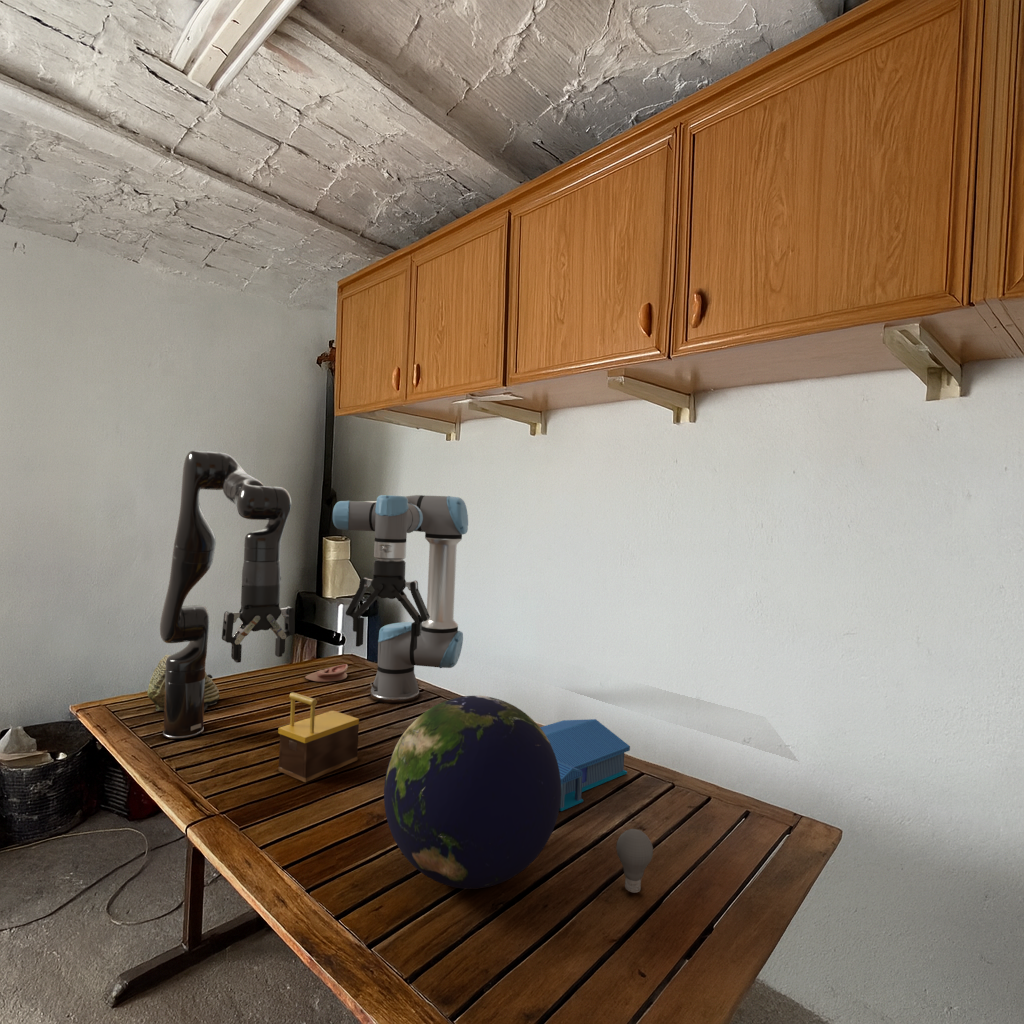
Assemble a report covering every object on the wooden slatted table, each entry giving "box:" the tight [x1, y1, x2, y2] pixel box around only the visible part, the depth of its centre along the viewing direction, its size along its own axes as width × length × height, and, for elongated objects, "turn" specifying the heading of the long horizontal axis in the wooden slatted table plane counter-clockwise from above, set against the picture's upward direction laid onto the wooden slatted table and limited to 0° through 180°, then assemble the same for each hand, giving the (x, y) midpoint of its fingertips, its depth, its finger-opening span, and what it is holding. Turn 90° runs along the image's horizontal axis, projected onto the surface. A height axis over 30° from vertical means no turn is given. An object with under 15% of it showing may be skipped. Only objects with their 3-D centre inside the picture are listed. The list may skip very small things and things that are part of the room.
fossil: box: [147, 654, 221, 712], centre depth 185 cm, size 9×18×15 cm, turn 132°
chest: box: [278, 723, 360, 783], centre depth 149 cm, size 15×9×9 cm, turn 147°
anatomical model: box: [304, 663, 349, 683], centre depth 219 cm, size 13×4×12 cm
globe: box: [383, 694, 561, 890], centre depth 108 cm, size 30×30×30 cm
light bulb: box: [615, 828, 654, 894], centre depth 106 cm, size 6×6×10 cm
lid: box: [277, 691, 360, 743], centre depth 149 cm, size 16×9×9 cm, turn 147°
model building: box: [539, 718, 631, 812], centre depth 145 cm, size 39×24×10 cm, turn 132°
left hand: (258, 658), depth 132 cm, fingers open, 8 cm apart
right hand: (386, 647), depth 152 cm, fingers open, 13 cm apart
